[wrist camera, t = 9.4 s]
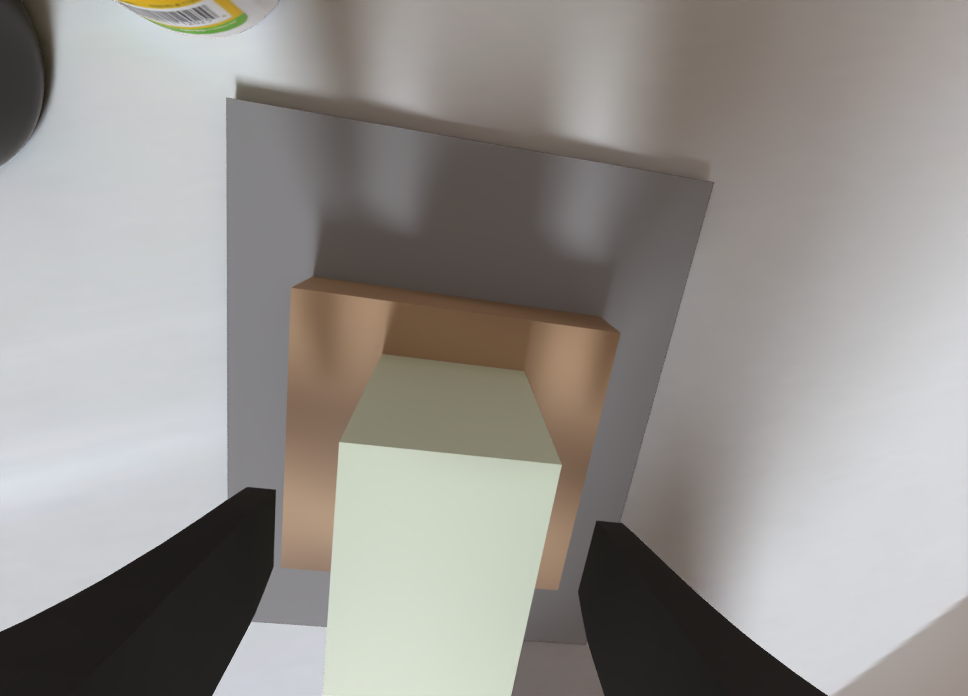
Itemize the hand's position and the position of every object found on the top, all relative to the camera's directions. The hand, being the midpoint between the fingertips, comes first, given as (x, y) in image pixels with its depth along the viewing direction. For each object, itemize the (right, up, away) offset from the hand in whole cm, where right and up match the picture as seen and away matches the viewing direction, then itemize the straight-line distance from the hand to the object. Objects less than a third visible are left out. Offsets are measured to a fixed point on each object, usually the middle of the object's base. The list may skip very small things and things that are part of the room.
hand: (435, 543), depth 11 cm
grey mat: (0, +2, +6) cm, 6 cm away
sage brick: (0, +1, +3) cm, 4 cm away
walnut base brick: (0, +2, +6) cm, 6 cm away
